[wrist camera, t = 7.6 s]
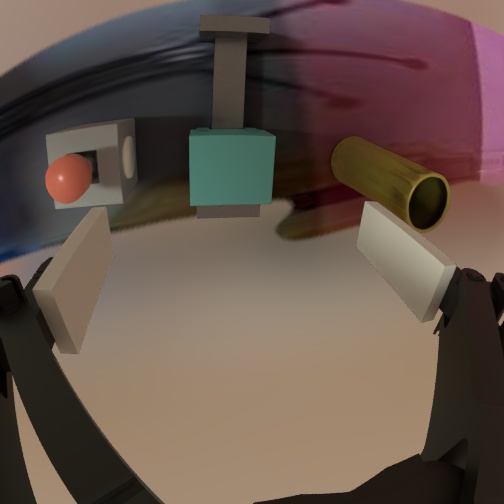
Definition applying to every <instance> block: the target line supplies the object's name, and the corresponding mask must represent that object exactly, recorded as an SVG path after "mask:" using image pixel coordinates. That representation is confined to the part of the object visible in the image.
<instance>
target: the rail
mask: <svg viewBox="0 0 504 504" xmlns="http://www.w3.org/2000/svg"><path fill="white" fill-rule="evenodd" d="M199 33H200V41H215V43H214V63H213V88H212V123H211V129H243V116H244V94H245V72H246V53H247V42H249V43H260V42H261V41H262V40H263V39H264V38H265V37H267V36H268V35H269V34H270V18H261V17H249V16H231V15H201V16H200V30H199ZM259 214H260V204H235V205H199V206H197V218H226V217H259Z"/></svg>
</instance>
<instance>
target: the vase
mask: <svg viewBox="0 0 504 504" xmlns="http://www.w3.org/2000/svg"><path fill="white" fill-rule="evenodd" d="M331 167H332V171H333V173H334V176H335V177H336V178H337V179H338V180H339V181H340V182H341V183H343V184H345V185H347V186H349V187H351V188H353V189H354V190H356V191H357V192H359V193H361V194H363V195H365V196H366V197H368V198H370V199H371V200H373V201H374V202H378V203H379V204H381V205H382V206H383V207H385V208H386V209H387V210H389V211H390V212H392V213H393V214H394V215H396V216H397V217H398V218H400V219H401V220H402V221H404V222H405V223H406V224H408V225H409V226H410V227H411V228H413V229H414V230H415V231H417V232H420V233H426V232H429V231H431V230H433V229H434V228H436V227H437V226H438V225H439V224H440V223H441V221H442V220H443V219H444V217H445V215H446V213H447V211H448V208H449V205H450V196H451V193H450V187H449V184H448V182H447V180H446V179H445V178H444V177H443V176H442V175H440V174H438V173H436V172H434V171H431V170H429V169H427V168H425V167H423V166H421V165H419V164H417V163H414V162H412V161H410V160H408V159H406V158H403V157H401V156H399V155H397V154H395V153H393V152H390V151H388V150H386V149H384V148H382V147H380V146H377V145H375V144H373V143H371V142H369V141H367V140H366V139H364V138H361V137H358V136H352V137H348V138H345V139H343V140H342V141H341V142H340V143H339V144H338V145H337V146H336V147H335V149H334V151H333V153H332V157H331Z"/></svg>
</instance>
